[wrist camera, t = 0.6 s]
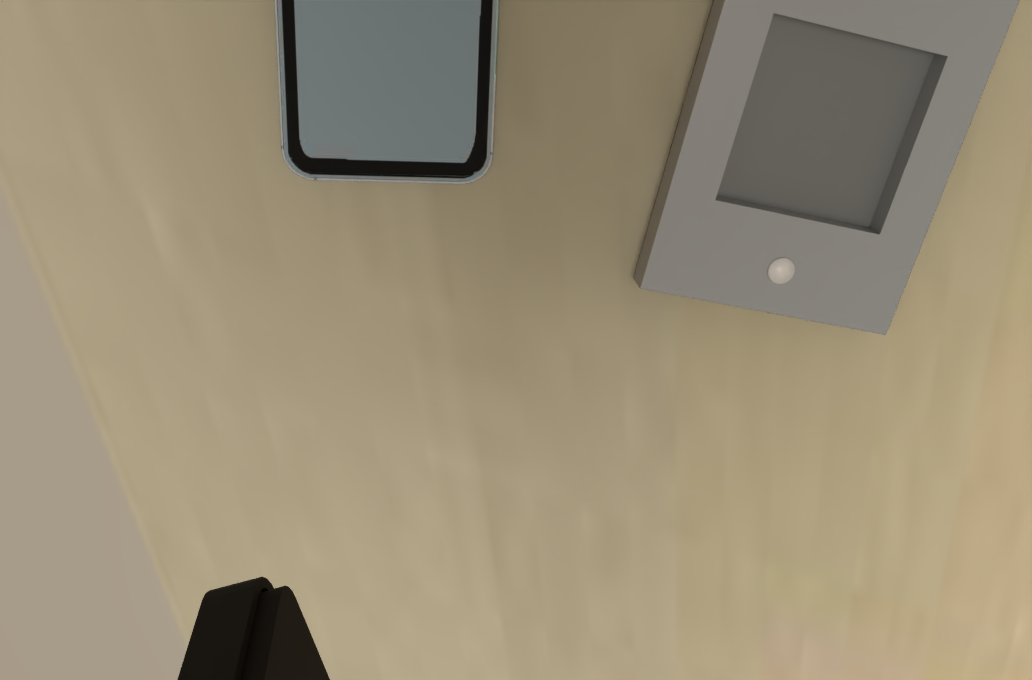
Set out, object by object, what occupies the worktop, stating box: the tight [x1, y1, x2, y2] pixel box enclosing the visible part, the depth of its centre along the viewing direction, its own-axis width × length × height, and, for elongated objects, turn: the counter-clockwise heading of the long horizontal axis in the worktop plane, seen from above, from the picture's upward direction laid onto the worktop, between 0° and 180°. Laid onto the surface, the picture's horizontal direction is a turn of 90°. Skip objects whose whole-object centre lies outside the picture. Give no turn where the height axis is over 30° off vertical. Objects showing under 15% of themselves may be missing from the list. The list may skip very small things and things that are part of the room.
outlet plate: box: [634, 0, 1020, 335], centre depth 35 cm, size 14×10×1 cm
